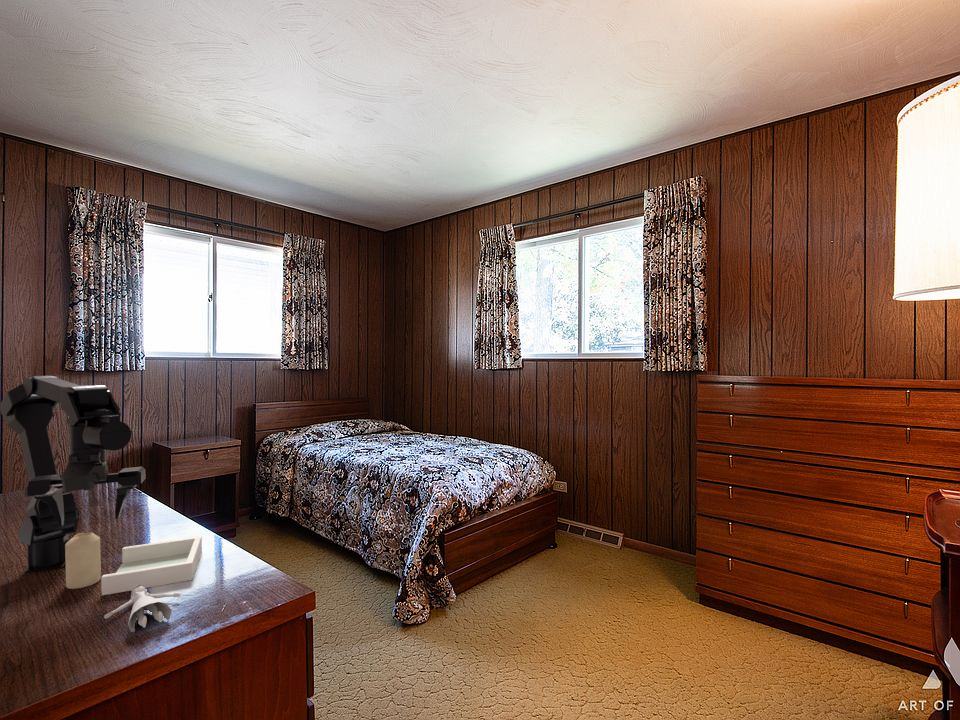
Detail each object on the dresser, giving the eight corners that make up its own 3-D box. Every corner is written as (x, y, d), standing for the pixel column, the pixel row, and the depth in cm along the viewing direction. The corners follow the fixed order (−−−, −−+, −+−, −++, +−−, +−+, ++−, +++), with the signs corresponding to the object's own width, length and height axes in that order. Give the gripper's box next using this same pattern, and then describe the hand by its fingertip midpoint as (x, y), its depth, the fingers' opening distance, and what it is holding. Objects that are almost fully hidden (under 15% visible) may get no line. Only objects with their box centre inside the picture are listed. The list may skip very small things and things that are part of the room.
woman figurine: (108, 621, 77) (99, 588, 90) (109, 650, 77) (99, 613, 90) (192, 596, 85) (172, 569, 98) (193, 622, 84) (173, 592, 98)
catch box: (101, 595, 94) (101, 577, 94) (124, 562, 109) (123, 547, 109) (192, 579, 100) (192, 562, 100) (201, 550, 115) (201, 536, 115)
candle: (60, 585, 98) (59, 536, 98) (92, 574, 103) (91, 527, 103) (74, 591, 96) (73, 541, 96) (106, 580, 101) (105, 531, 101)
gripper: (11, 458, 89) (13, 543, 89) (134, 448, 97) (136, 527, 97) (35, 448, 99) (37, 525, 99) (145, 440, 107) (146, 511, 107)
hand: (89, 522), depth 101 cm, fingers open, 9 cm apart
